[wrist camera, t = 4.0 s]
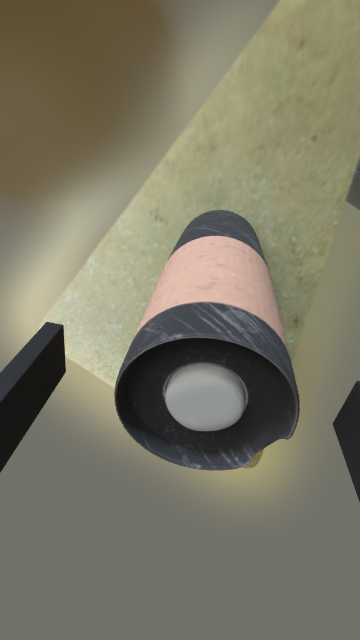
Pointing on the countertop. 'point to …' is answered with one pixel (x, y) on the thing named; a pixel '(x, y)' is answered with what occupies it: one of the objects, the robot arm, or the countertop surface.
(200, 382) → the travel mug
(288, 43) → the countertop surface
